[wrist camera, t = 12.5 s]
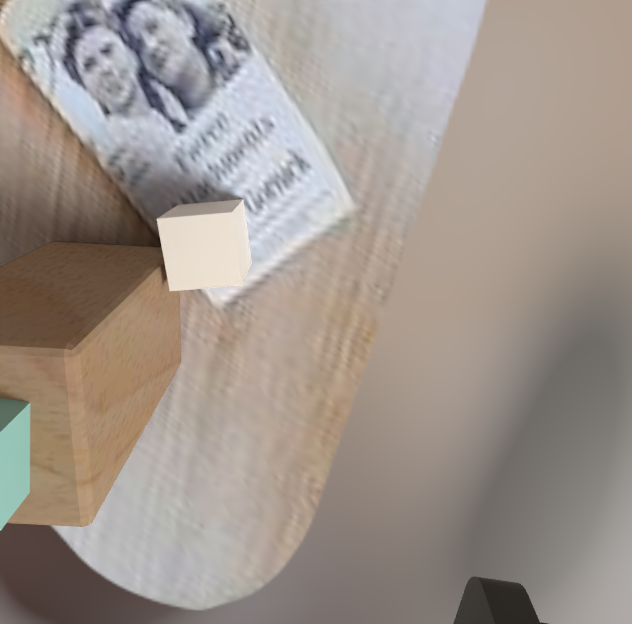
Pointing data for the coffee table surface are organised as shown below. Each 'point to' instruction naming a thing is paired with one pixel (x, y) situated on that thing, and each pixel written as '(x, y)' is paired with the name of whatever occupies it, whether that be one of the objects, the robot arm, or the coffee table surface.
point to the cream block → (205, 245)
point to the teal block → (14, 456)
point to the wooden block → (84, 366)
